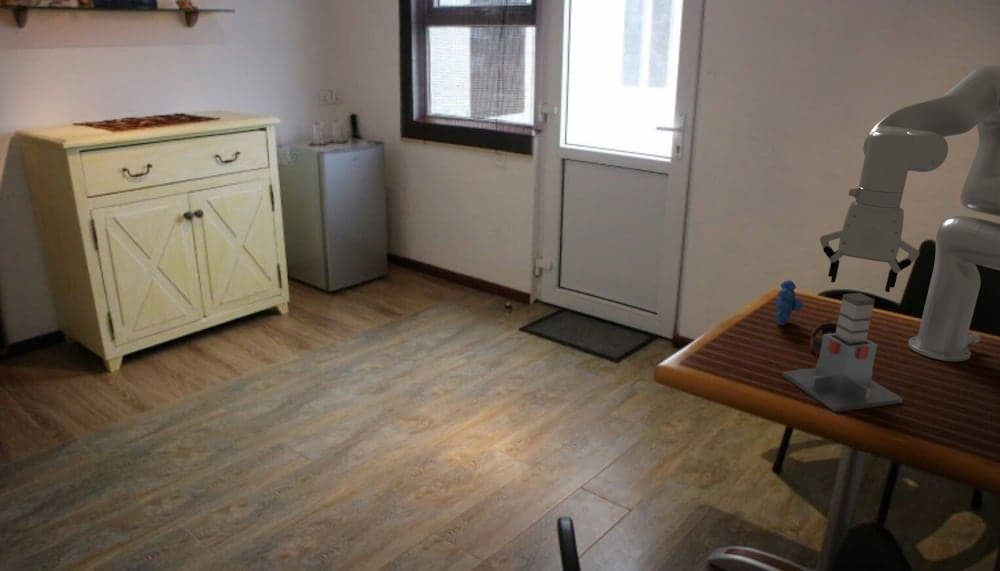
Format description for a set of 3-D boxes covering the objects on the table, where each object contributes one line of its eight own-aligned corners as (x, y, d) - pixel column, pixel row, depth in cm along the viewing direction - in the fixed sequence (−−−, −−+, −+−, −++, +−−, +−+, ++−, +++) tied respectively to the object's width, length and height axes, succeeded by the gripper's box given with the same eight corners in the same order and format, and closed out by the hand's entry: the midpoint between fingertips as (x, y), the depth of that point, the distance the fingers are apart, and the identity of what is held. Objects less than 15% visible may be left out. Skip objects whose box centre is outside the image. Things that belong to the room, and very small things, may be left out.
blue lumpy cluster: (795, 336, 179) (804, 289, 175) (766, 330, 182) (774, 283, 178) (803, 321, 188) (811, 276, 184) (775, 315, 191) (783, 271, 188)
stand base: (844, 368, 162) (854, 321, 159) (901, 402, 148) (913, 352, 144) (782, 376, 158) (790, 327, 154) (834, 412, 143) (845, 359, 140)
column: (842, 378, 155) (859, 292, 149) (857, 387, 151) (876, 300, 145) (825, 380, 154) (842, 294, 148) (839, 389, 150) (857, 301, 144)
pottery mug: (864, 364, 166) (856, 337, 162) (821, 377, 169) (812, 350, 165) (847, 331, 176) (839, 305, 172) (806, 344, 179) (797, 318, 175)
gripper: (827, 195, 140) (810, 281, 146) (931, 209, 133) (909, 299, 138) (830, 189, 147) (814, 272, 152) (930, 202, 139) (909, 289, 145)
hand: (859, 285), depth 145 cm, fingers open, 9 cm apart
